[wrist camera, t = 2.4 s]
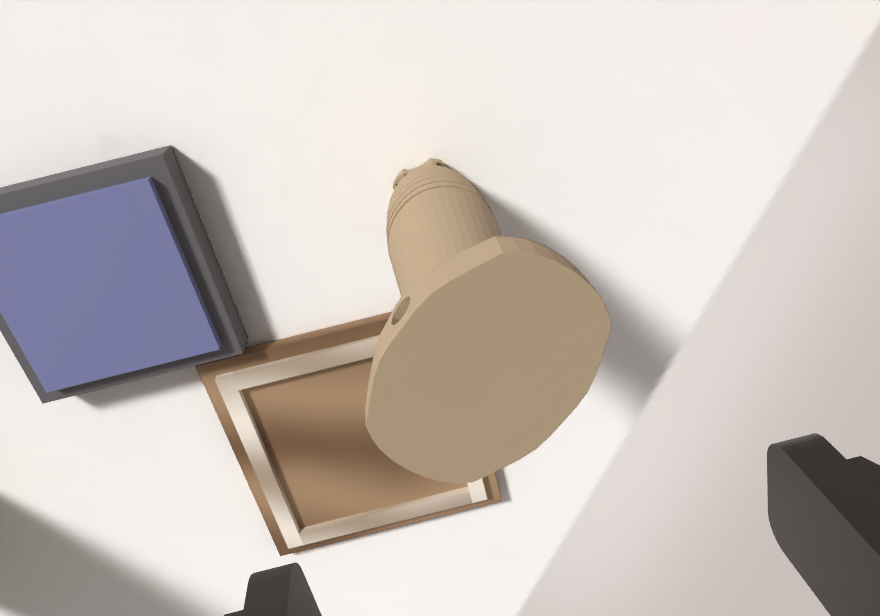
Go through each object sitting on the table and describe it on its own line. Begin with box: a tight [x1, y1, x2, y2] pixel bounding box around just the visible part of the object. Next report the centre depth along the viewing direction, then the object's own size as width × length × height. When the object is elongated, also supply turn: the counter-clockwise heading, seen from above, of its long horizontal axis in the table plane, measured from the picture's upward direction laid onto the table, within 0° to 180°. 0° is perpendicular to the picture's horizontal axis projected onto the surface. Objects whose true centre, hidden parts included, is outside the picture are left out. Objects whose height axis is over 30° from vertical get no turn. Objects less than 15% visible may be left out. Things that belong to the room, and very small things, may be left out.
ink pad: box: [0, 145, 248, 403], centre depth 29 cm, size 9×9×2 cm
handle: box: [365, 158, 611, 483], centre depth 23 cm, size 5×6×15 cm
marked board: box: [196, 312, 501, 556], centre depth 34 cm, size 12×12×1 cm
